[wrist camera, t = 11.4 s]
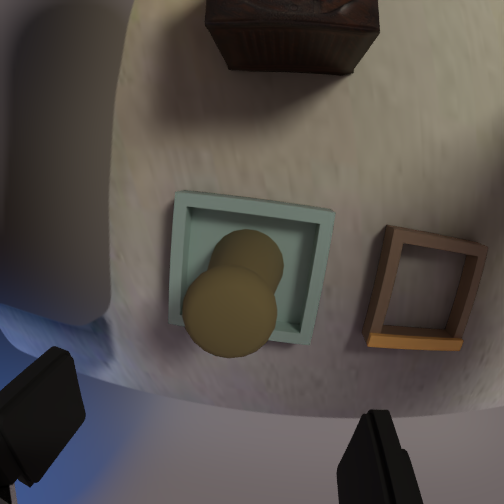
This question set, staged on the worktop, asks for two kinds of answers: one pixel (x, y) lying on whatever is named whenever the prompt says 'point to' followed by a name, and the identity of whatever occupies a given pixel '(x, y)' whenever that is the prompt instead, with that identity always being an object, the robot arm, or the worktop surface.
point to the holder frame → (384, 284)
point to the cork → (235, 295)
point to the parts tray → (265, 221)
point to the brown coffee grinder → (293, 34)
